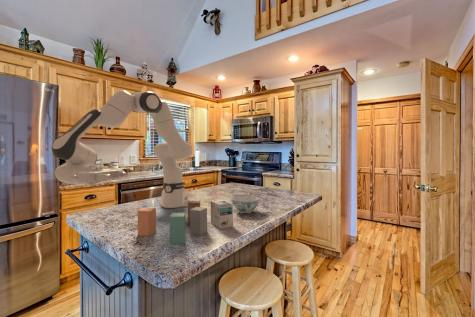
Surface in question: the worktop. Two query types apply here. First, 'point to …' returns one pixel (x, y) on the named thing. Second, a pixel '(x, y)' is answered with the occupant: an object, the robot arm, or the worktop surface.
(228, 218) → the light bulb box
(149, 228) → the terracotta block
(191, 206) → the walnut block
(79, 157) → the robot arm
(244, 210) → the chinaware
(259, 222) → the worktop surface
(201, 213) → the slate-grey block
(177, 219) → the muted teal block
